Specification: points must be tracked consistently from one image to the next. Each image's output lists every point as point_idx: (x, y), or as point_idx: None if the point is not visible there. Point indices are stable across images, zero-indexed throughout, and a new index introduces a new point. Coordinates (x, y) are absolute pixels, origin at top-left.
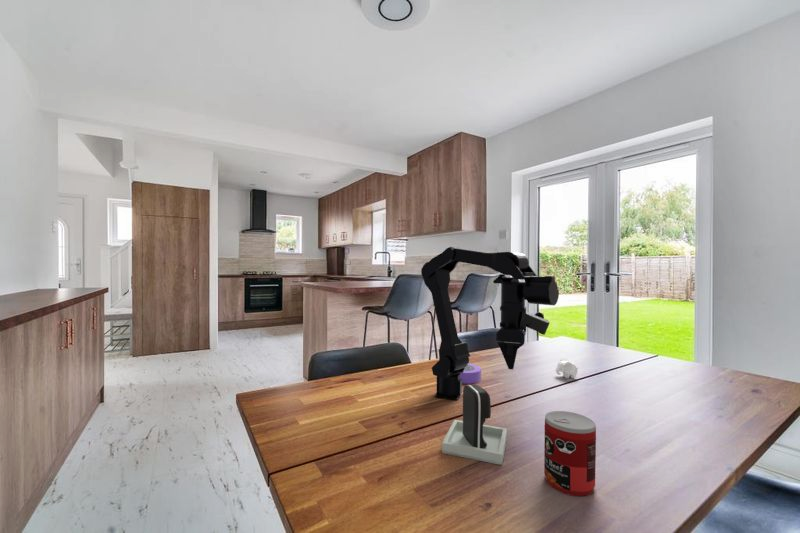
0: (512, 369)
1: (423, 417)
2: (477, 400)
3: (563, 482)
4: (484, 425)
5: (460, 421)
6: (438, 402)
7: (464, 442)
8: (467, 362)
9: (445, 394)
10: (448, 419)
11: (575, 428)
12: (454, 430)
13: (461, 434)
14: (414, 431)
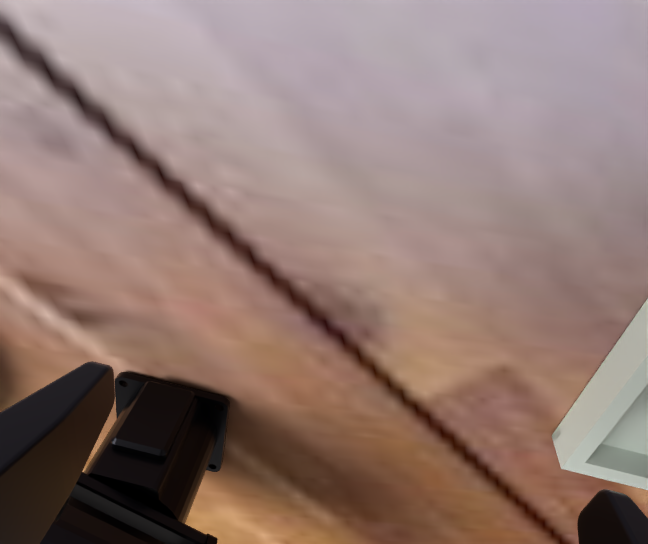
0: (618, 493)
1: (444, 509)
2: None
3: None
4: (644, 373)
5: (583, 452)
6: (275, 456)
7: None
8: (63, 532)
9: (213, 447)
10: (456, 443)
11: None
12: (639, 464)
13: (642, 431)
14: (572, 537)
